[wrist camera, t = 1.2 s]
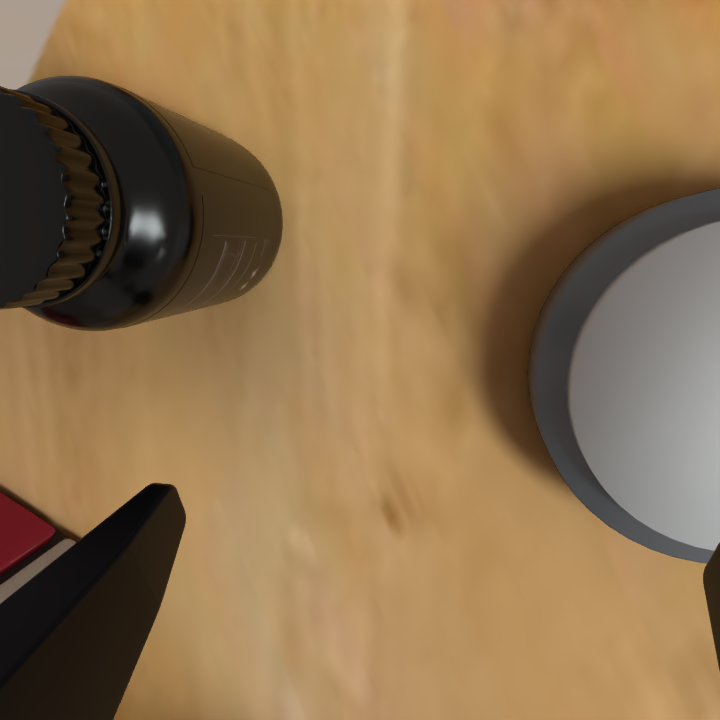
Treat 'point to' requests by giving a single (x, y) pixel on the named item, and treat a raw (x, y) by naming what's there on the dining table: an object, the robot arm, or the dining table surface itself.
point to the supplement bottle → (124, 208)
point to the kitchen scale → (639, 377)
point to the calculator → (25, 546)
